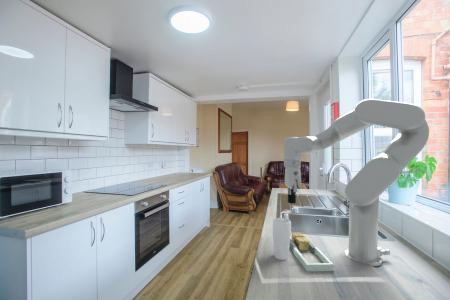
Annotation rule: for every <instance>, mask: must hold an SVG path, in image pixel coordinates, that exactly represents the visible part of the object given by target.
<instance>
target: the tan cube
mask: <svg viewBox="0 0 450 300" xmlns="http://www.w3.org/2000/svg"><path fill="white" fill-rule="evenodd" d="M305 237H306V236H305ZM305 237H296V246H297V247H298V250H299V251H309V241H310V240H309V239H308V238H307V237H306V238H307V239H308V240H309V241H308V240H307V239H306V238H305Z"/></svg>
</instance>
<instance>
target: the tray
mask: <svg viewBox="0 0 450 300" xmlns="http://www.w3.org/2000/svg"><path fill="white" fill-rule="evenodd" d="M293 254H294V256H295V257H296V259H297V260H298V261H299V263H300V265H301V266H302V267H303V269H305V271H306V272H334V271H335V264H334V262H332V261H331V259H330V258H328V257H327V256H326V255H325V253H323V252H322V250H321V249H319V247H316V246H315V253H314V254H315V255H316V256H317V257H318V259H319V260H321V262H309V261H307V259H306V258H305V256H303V253H300V252H299V250H298V249H297V248H294V251H293Z"/></svg>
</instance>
